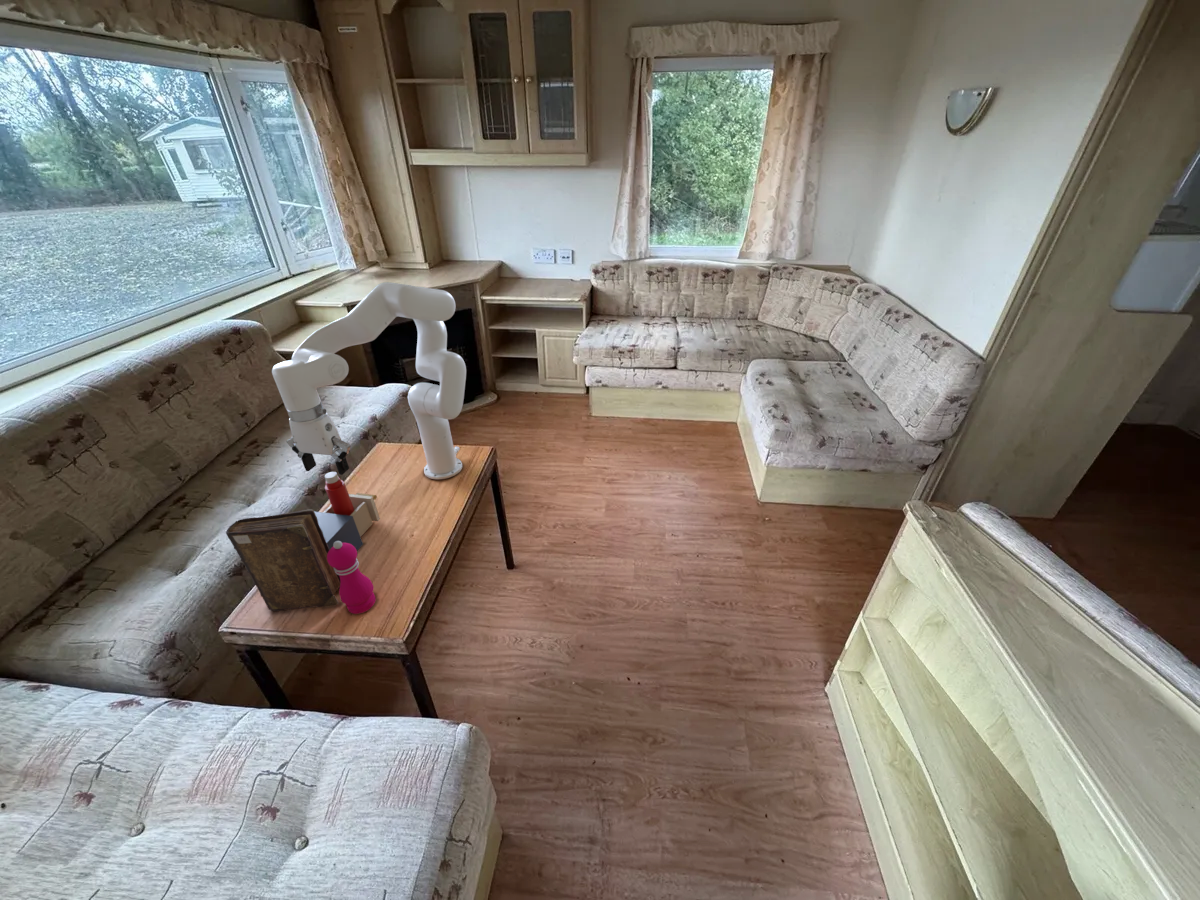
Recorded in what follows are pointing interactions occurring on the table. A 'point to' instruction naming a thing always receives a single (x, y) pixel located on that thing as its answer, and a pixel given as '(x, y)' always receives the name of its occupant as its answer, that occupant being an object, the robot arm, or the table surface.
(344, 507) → the ketchup bottle
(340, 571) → the pepper mill
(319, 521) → the dark blue angular piece
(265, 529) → the book
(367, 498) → the drawer
